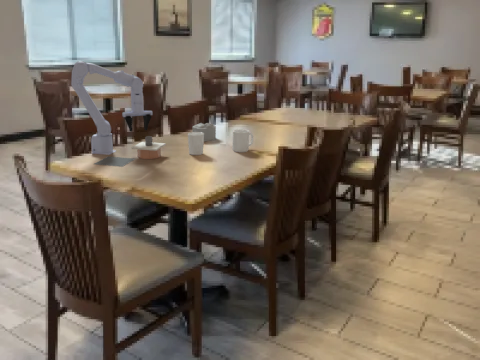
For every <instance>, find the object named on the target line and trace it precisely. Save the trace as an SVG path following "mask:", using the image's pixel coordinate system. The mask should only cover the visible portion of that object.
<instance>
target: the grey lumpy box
mask: <svg viewBox="0 0 480 360" xmlns="http://www.w3.org/2000/svg"><path fill="white" fill-rule="evenodd" d="M191 127H192V130H191V132H201V133H204V142H211V141H215V140H216V138H217V137H216V135H217V132H216V131H217V130H216V129H217V127H216V125H215V124H212V123H210V122H206V123H202V122H200V123H198V124H195V125H193V126H191Z"/></svg>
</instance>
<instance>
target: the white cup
mask: <svg viewBox="0 0 480 360" xmlns="http://www.w3.org/2000/svg"><path fill="white" fill-rule="evenodd" d="M204 143H205V141H204V133H201V132H192V131H191V132H188V133H187V145H188V154H189V155H192V156H200V155H201V156H202V155H203V154H204Z"/></svg>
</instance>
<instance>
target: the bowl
mask: <svg viewBox="0 0 480 360" xmlns="http://www.w3.org/2000/svg"><path fill="white" fill-rule="evenodd" d="M136 150H137V153H136V154H137V157H138V158H139V159H144V160H151V159H152V160H153V159H158V158H160V157H161V156H162V153H161V151H162V148H160V149H158V150H157V151H153V150H140V149H136Z"/></svg>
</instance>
